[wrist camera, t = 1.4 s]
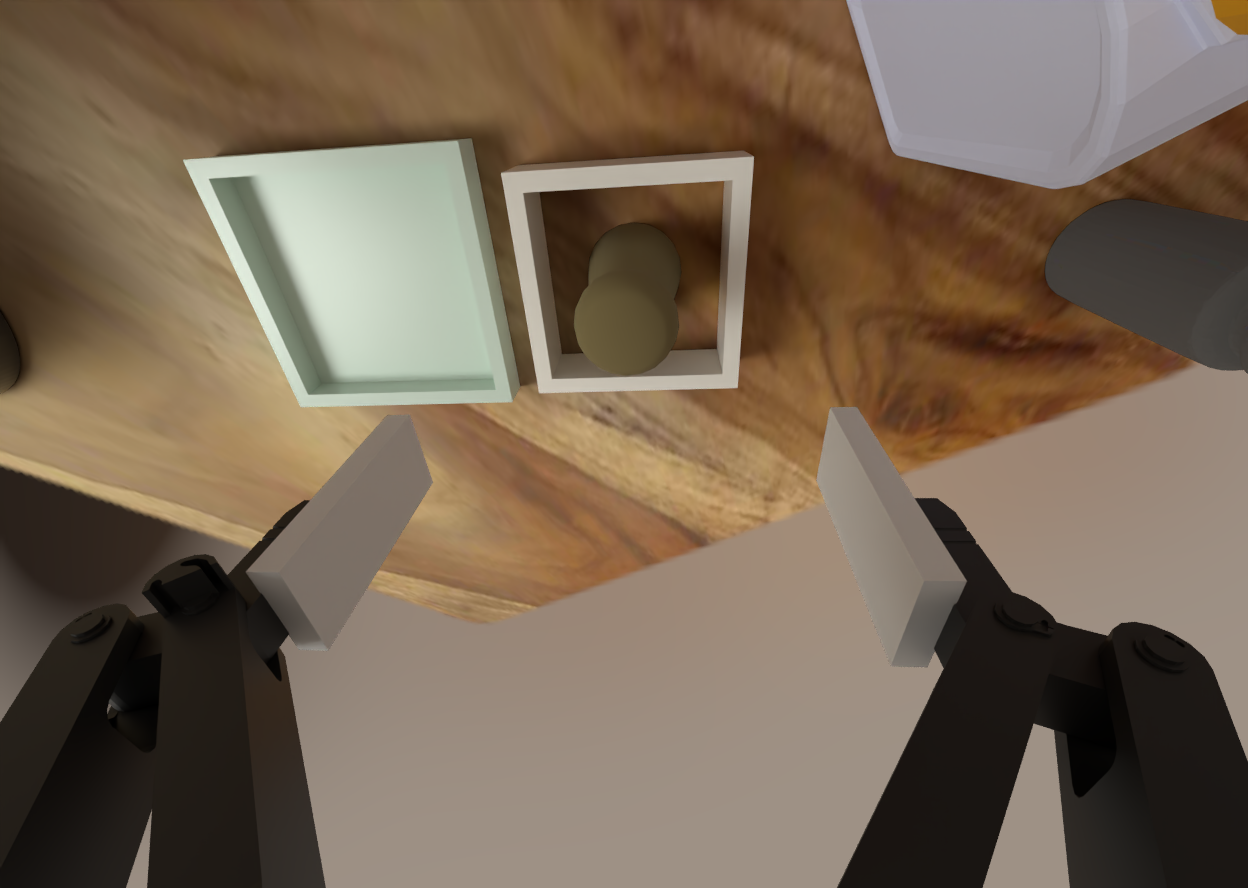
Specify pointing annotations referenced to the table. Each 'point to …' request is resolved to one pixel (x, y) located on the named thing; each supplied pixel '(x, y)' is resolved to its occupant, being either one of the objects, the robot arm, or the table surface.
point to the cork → (629, 300)
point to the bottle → (1160, 276)
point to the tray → (368, 270)
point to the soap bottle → (1049, 79)
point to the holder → (537, 285)
